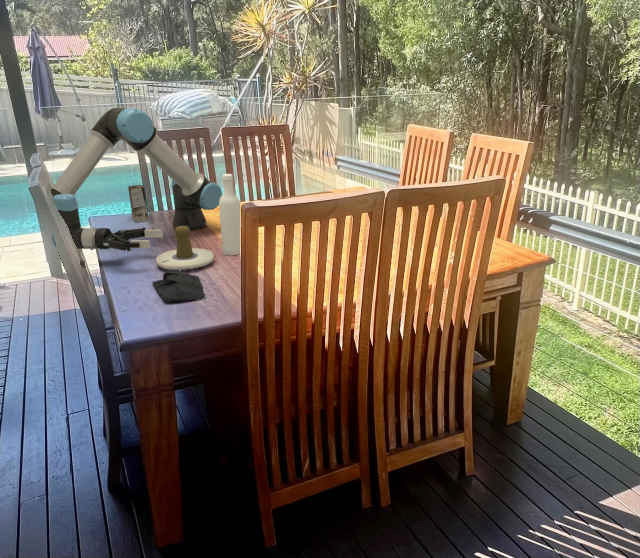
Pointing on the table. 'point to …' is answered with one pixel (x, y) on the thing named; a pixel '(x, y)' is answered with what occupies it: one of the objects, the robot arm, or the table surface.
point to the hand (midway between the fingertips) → (156, 238)
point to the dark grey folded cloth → (179, 286)
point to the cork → (183, 243)
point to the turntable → (172, 262)
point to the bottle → (229, 218)
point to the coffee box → (138, 203)
